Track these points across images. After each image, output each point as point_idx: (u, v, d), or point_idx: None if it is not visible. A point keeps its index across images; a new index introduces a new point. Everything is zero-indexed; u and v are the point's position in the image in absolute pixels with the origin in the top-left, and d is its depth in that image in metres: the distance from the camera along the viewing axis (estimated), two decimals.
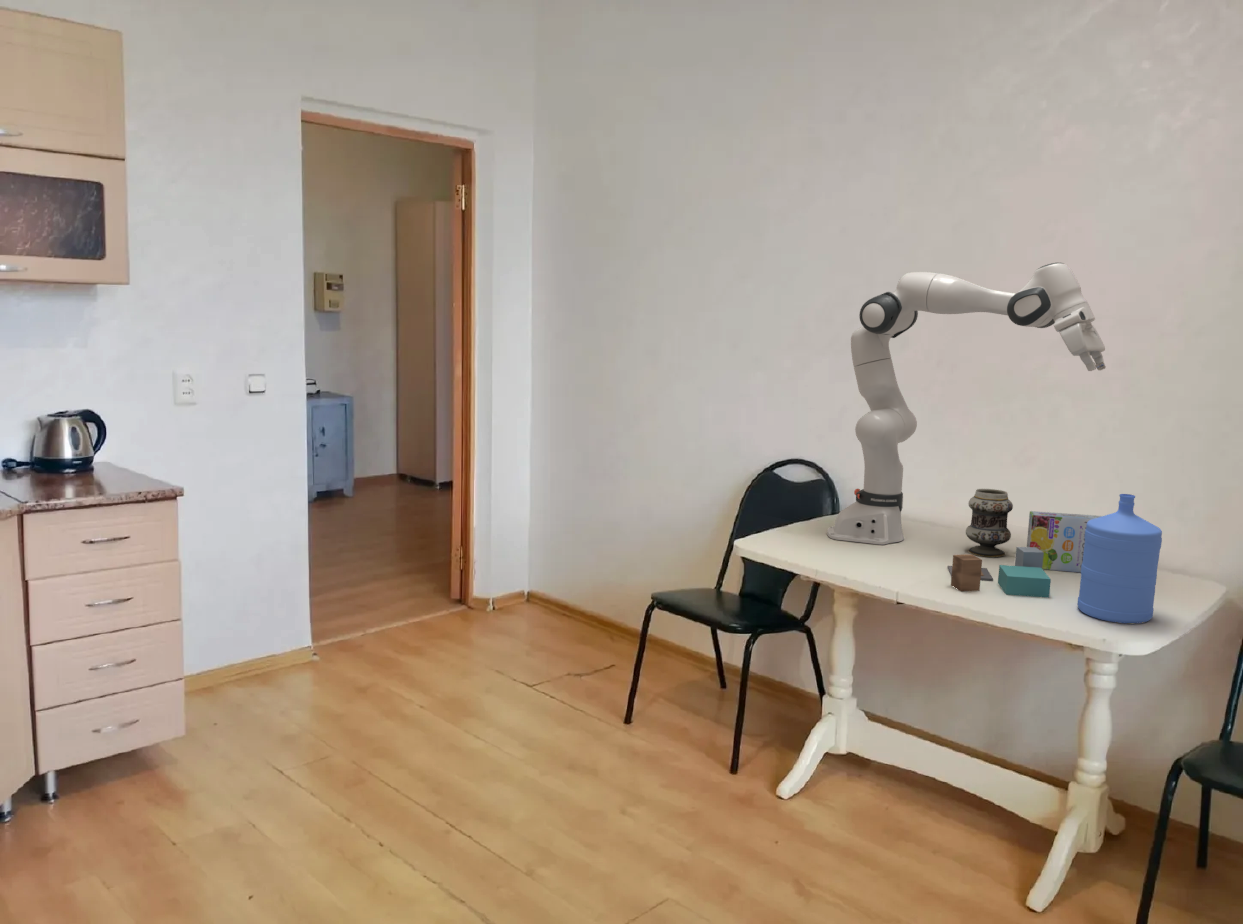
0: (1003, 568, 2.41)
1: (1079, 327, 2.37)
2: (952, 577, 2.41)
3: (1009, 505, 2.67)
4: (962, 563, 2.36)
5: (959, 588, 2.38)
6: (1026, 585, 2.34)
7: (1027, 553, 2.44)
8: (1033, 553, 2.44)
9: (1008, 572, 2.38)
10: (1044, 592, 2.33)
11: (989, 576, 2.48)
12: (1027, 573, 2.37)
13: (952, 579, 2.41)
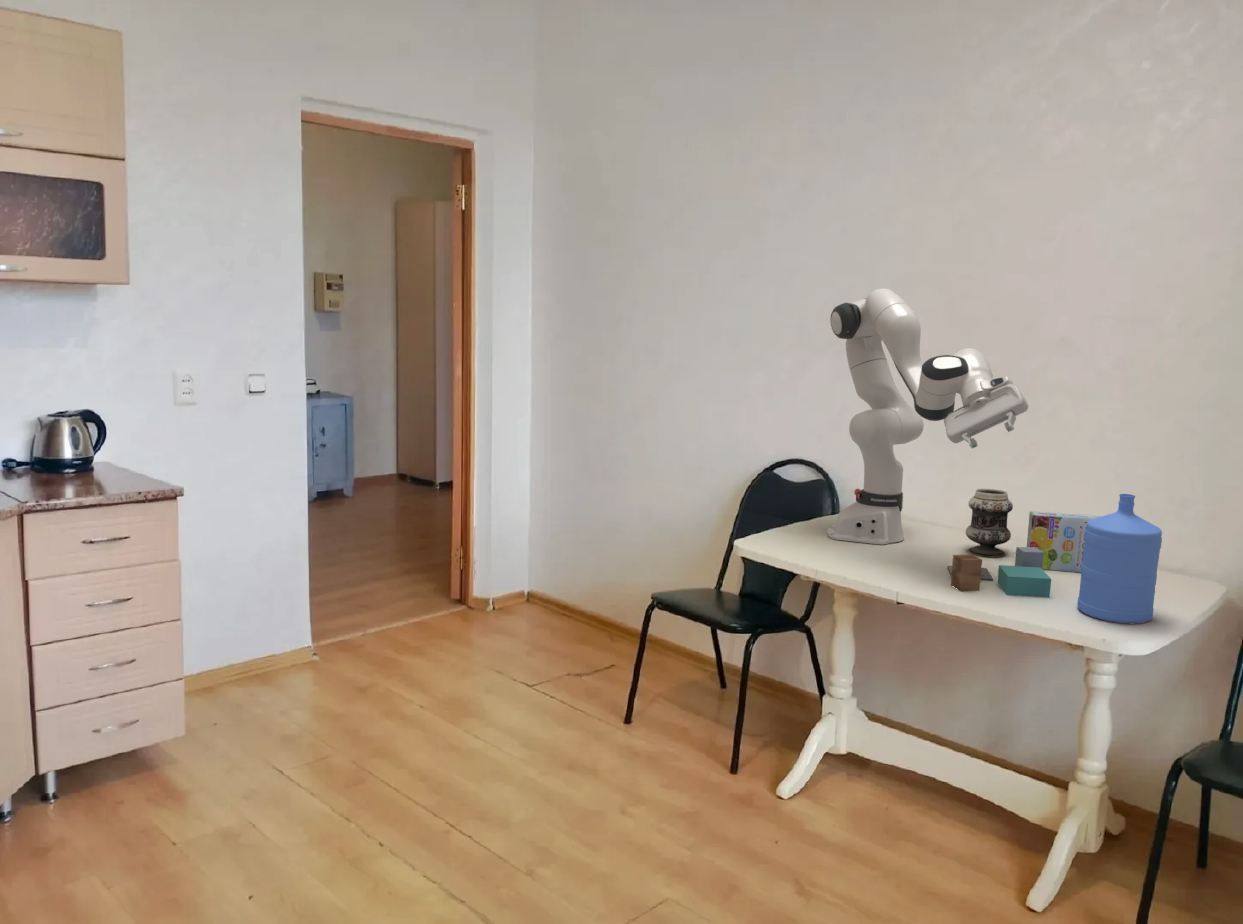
0: (1003, 568, 2.41)
1: None
2: (952, 577, 2.41)
3: (1009, 505, 2.67)
4: (962, 563, 2.36)
5: (959, 588, 2.38)
6: (1027, 585, 2.34)
7: (1027, 553, 2.44)
8: (1033, 553, 2.44)
9: (1008, 572, 2.37)
10: (1045, 591, 2.33)
11: (989, 576, 2.48)
12: (1027, 573, 2.37)
13: (952, 579, 2.41)
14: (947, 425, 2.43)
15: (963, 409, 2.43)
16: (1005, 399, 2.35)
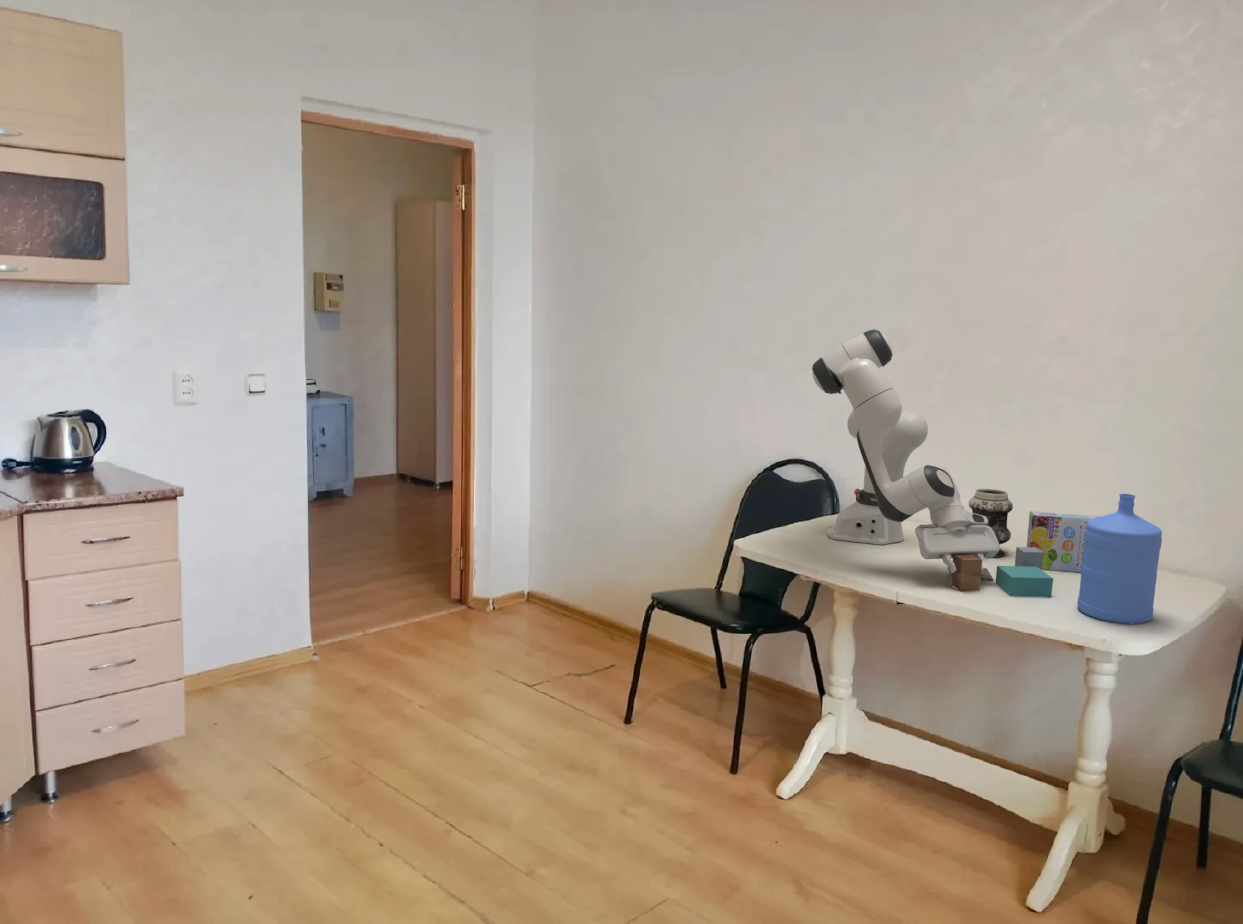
0: (1003, 569, 2.40)
1: None
2: (952, 577, 2.41)
3: (1009, 505, 2.67)
4: (962, 563, 2.36)
5: (959, 588, 2.37)
6: (1029, 585, 2.34)
7: (1027, 553, 2.44)
8: (1033, 553, 2.44)
9: (1010, 573, 2.37)
10: (1047, 591, 2.34)
11: (989, 576, 2.48)
12: (1028, 573, 2.37)
13: (952, 579, 2.41)
14: (926, 539, 2.40)
15: (941, 529, 2.43)
16: (983, 539, 2.42)
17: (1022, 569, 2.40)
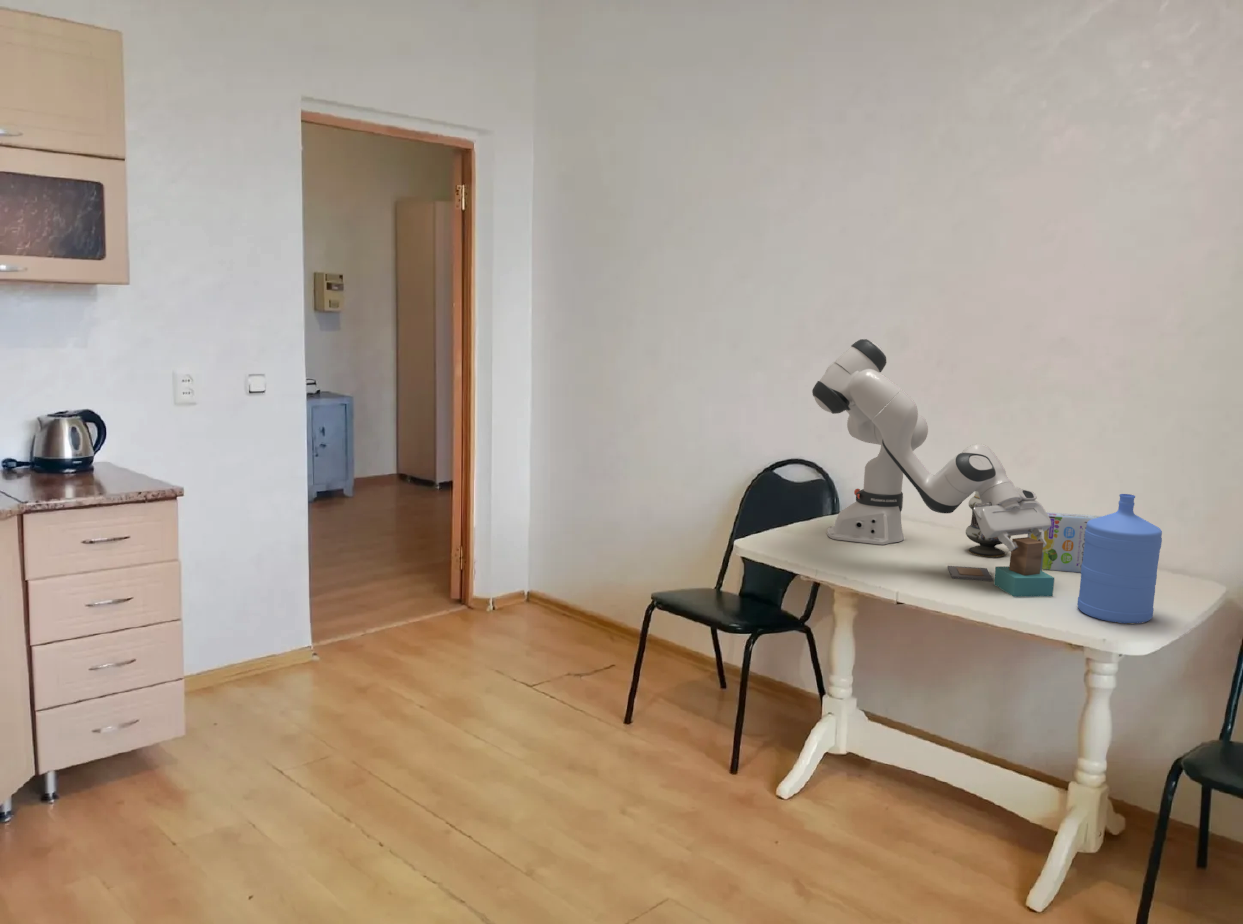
0: (1003, 570, 2.39)
1: None
2: (1011, 561, 2.39)
3: None
4: (1026, 547, 2.34)
5: (1022, 572, 2.36)
6: (1032, 585, 2.33)
7: None
8: None
9: (1011, 573, 2.36)
10: (1048, 591, 2.34)
11: (989, 576, 2.48)
12: None
13: (1011, 563, 2.39)
14: (988, 518, 2.36)
15: (998, 506, 2.39)
16: (1035, 515, 2.42)
17: None
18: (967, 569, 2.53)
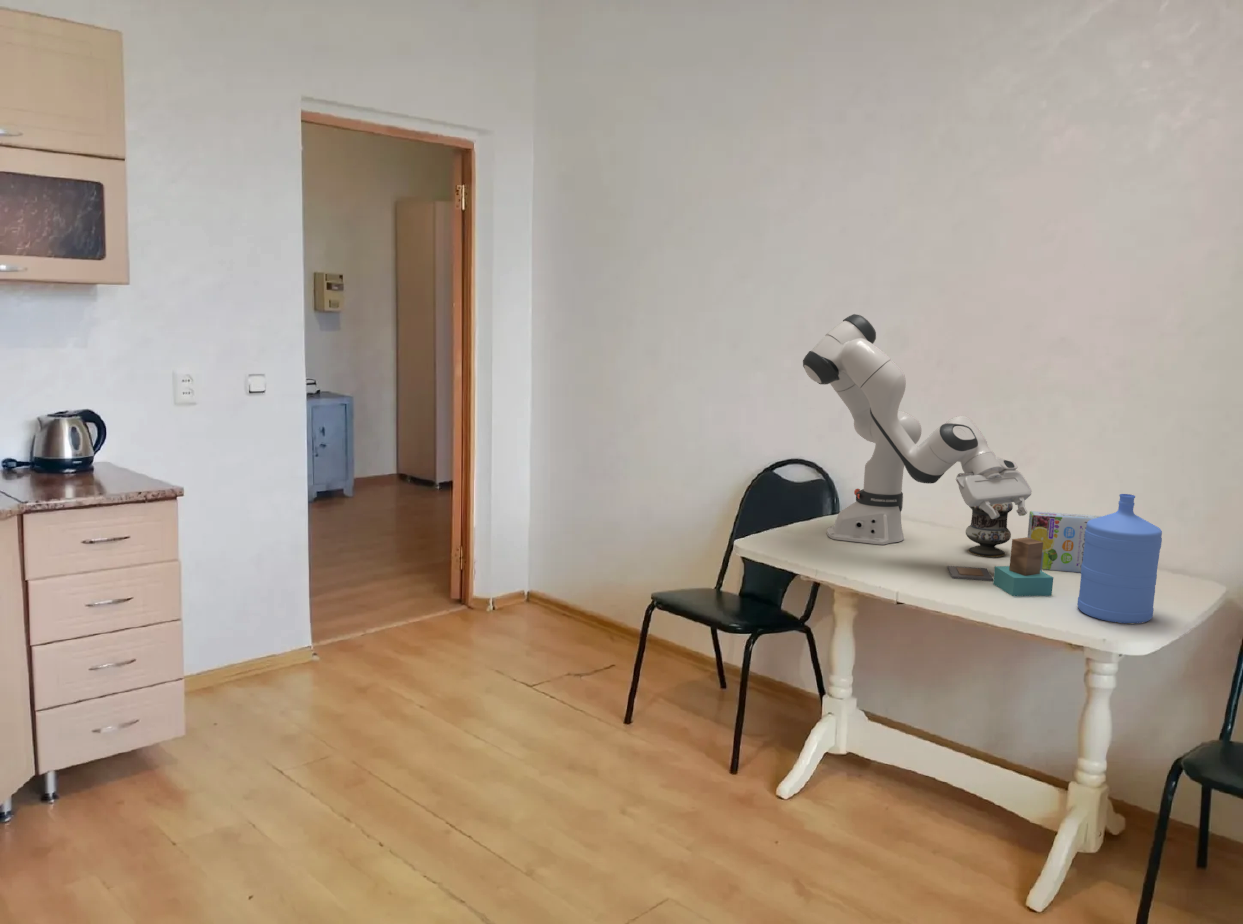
0: (1002, 569, 2.40)
1: None
2: (1011, 562, 2.38)
3: (1009, 505, 2.67)
4: (1027, 547, 2.34)
5: (1023, 572, 2.35)
6: (1031, 585, 2.34)
7: None
8: None
9: (1010, 573, 2.37)
10: (1048, 590, 2.34)
11: (989, 576, 2.48)
12: None
13: (1011, 564, 2.38)
14: (970, 486, 2.42)
15: (979, 476, 2.45)
16: (1016, 484, 2.48)
17: None
18: (967, 569, 2.53)
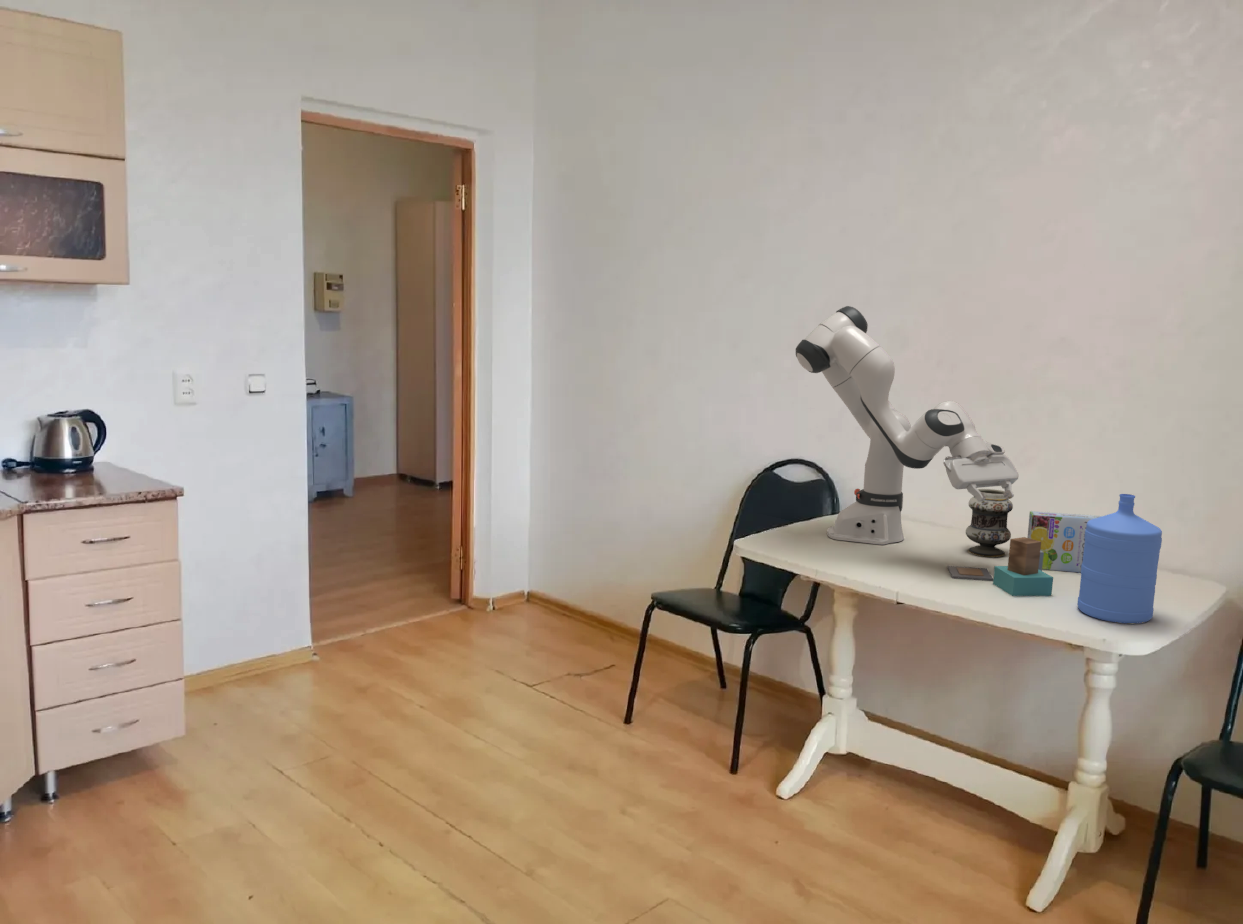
0: (1002, 569, 2.40)
1: None
2: (1010, 561, 2.39)
3: (1009, 505, 2.67)
4: (1025, 547, 2.34)
5: (1021, 572, 2.36)
6: (1031, 585, 2.34)
7: None
8: None
9: (1010, 573, 2.37)
10: (1047, 590, 2.35)
11: (989, 576, 2.48)
12: None
13: (1010, 563, 2.39)
14: (957, 469, 2.45)
15: (967, 459, 2.48)
16: (1003, 468, 2.51)
17: None
18: (967, 569, 2.53)
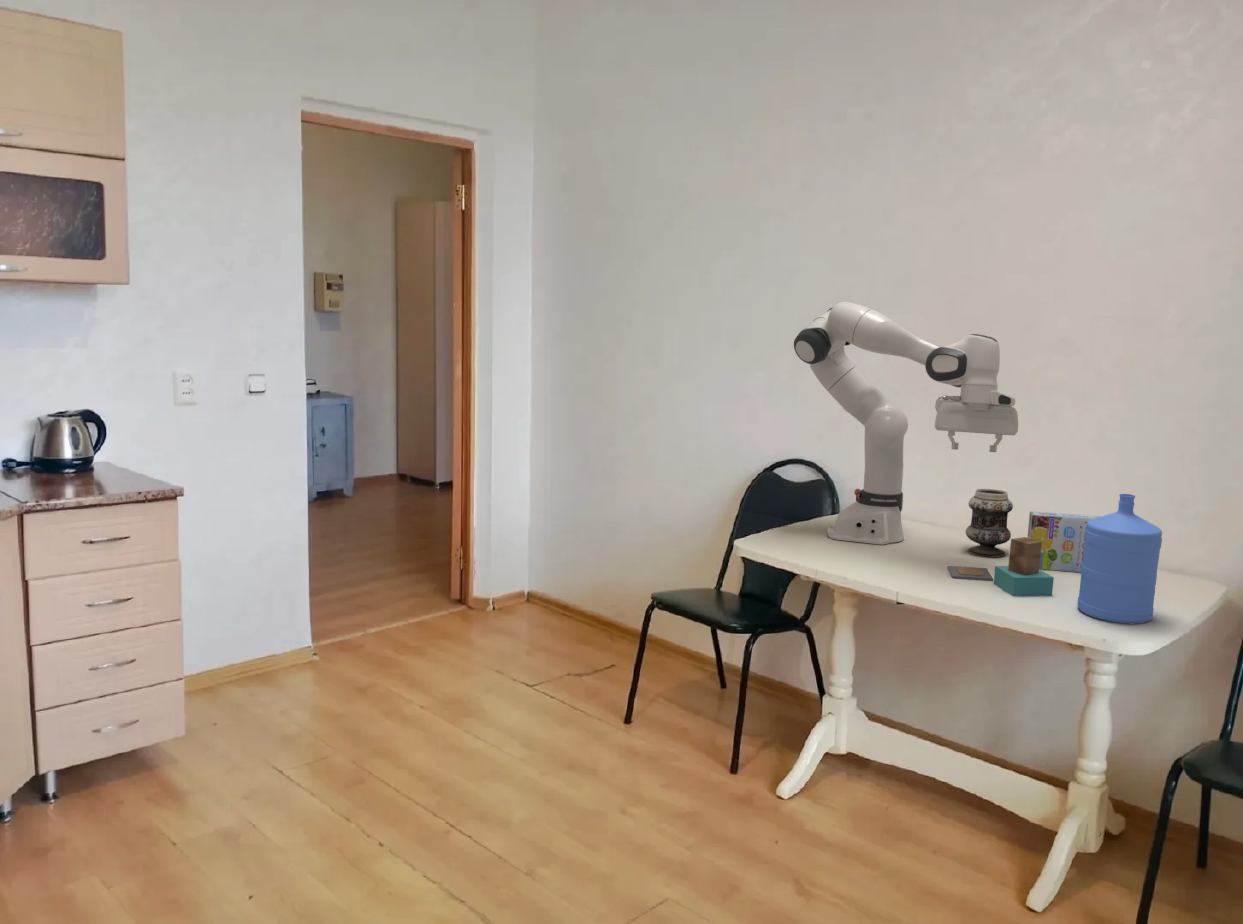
0: (1002, 569, 2.40)
1: None
2: (1010, 561, 2.39)
3: (1009, 505, 2.67)
4: (1026, 547, 2.34)
5: (1022, 572, 2.36)
6: (1031, 585, 2.34)
7: None
8: None
9: (1010, 573, 2.37)
10: (1048, 590, 2.35)
11: (989, 576, 2.48)
12: None
13: (1010, 563, 2.39)
14: (940, 415, 2.48)
15: (961, 405, 2.47)
16: (1002, 421, 2.45)
17: None
18: (967, 569, 2.53)
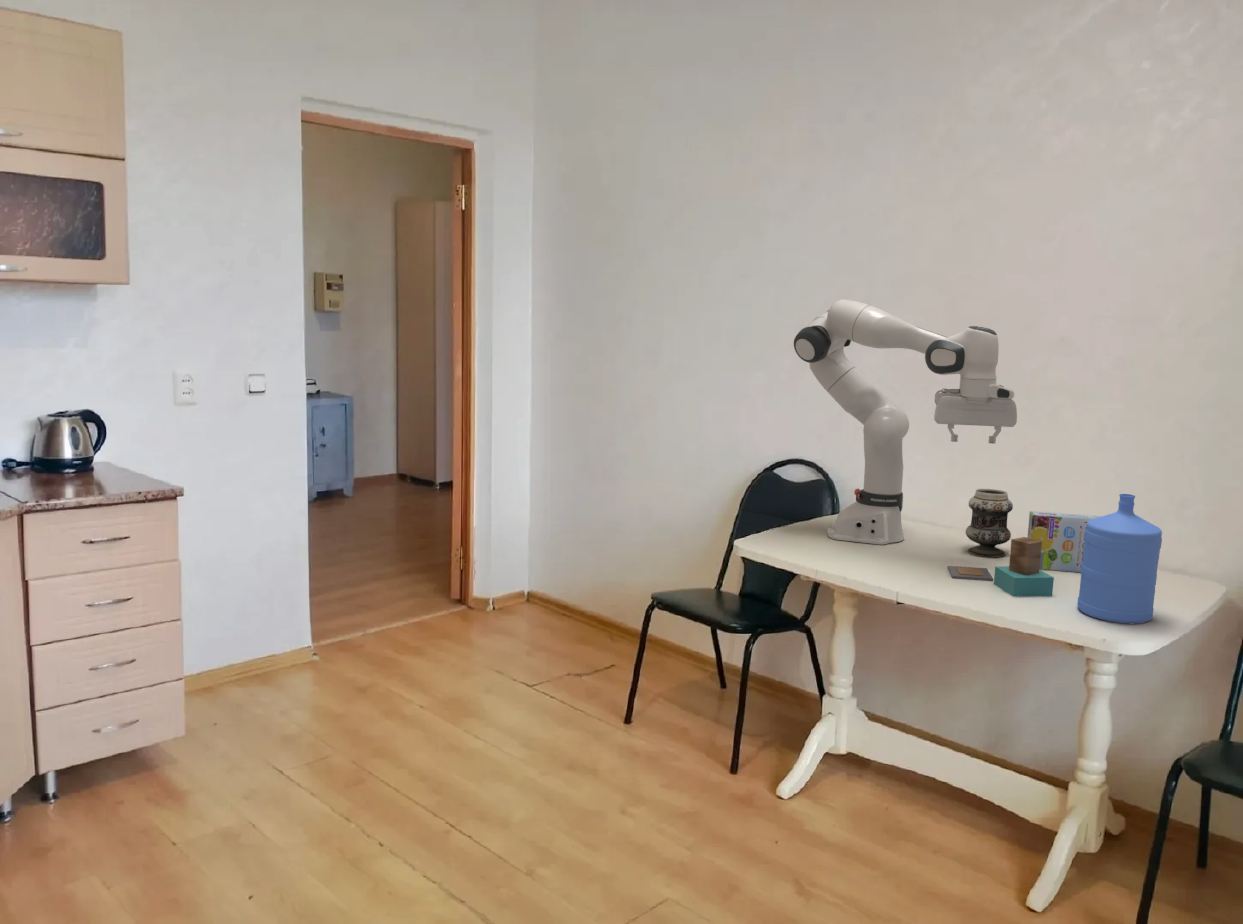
0: (1002, 569, 2.40)
1: None
2: (1011, 562, 2.39)
3: (1009, 505, 2.67)
4: (1027, 547, 2.34)
5: (1023, 572, 2.36)
6: (1031, 585, 2.34)
7: None
8: None
9: (1010, 573, 2.37)
10: (1048, 590, 2.34)
11: (989, 576, 2.48)
12: None
13: (1011, 564, 2.39)
14: (939, 409, 2.50)
15: (960, 399, 2.49)
16: (1001, 413, 2.47)
17: None
18: (967, 569, 2.53)
